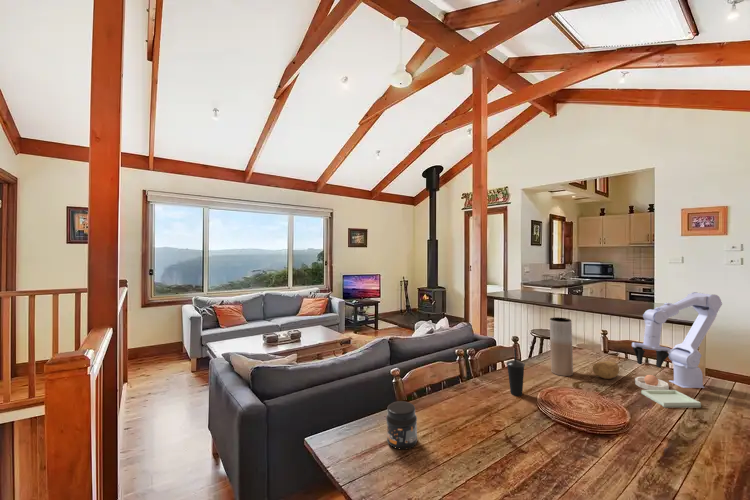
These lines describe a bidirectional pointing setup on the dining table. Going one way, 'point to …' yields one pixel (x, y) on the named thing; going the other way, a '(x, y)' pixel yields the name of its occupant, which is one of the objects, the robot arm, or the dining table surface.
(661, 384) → the dish
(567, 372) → the vase
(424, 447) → the dining table surface
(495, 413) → the dining table surface
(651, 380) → the ball
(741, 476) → the dining table surface
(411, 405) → the supplement container
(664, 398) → the tray
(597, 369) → the potato
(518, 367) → the drinking cup
